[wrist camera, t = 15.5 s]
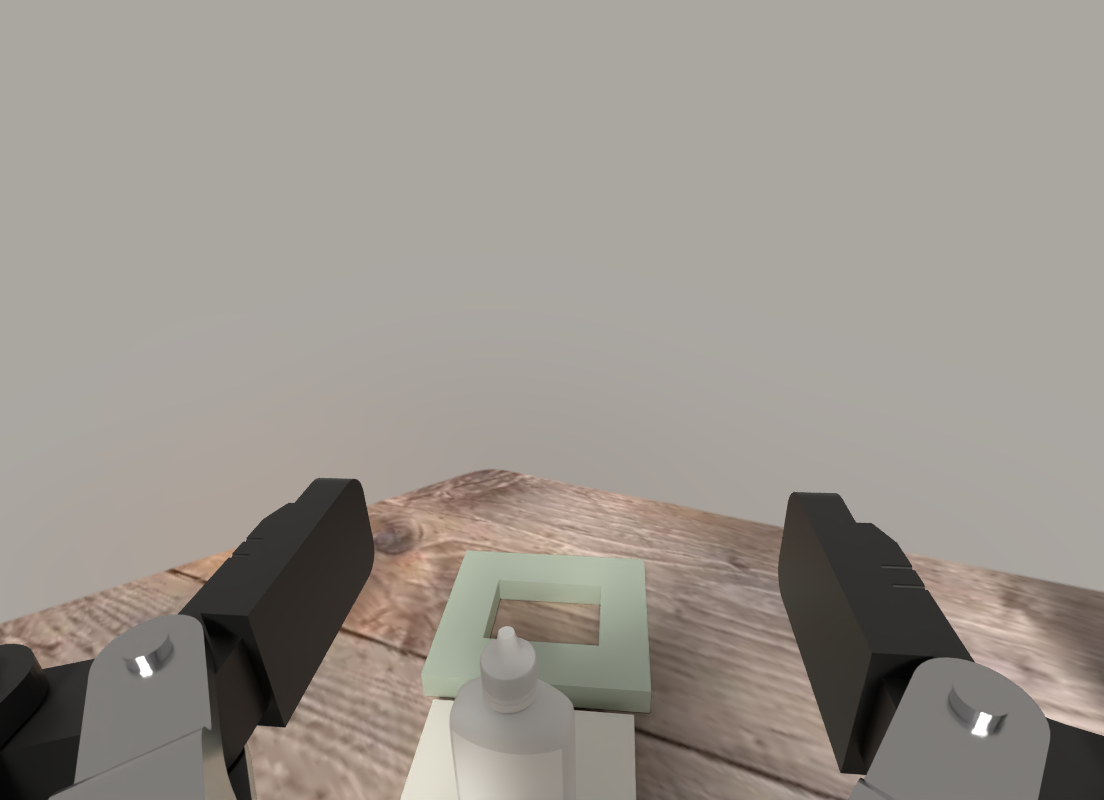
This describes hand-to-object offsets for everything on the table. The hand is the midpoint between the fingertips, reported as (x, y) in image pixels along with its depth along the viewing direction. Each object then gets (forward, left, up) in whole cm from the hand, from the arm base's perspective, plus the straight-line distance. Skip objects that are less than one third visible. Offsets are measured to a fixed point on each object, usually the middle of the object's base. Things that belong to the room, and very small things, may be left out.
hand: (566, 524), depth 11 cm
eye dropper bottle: (+3, -9, -24) cm, 26 cm away
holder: (+4, -22, -25) cm, 34 cm away
